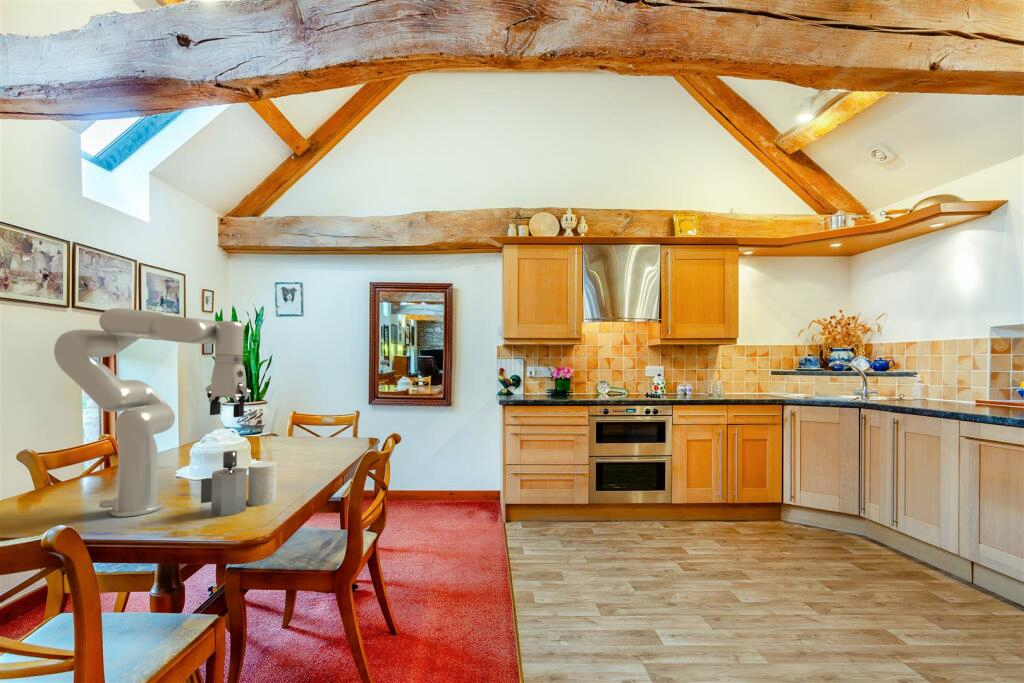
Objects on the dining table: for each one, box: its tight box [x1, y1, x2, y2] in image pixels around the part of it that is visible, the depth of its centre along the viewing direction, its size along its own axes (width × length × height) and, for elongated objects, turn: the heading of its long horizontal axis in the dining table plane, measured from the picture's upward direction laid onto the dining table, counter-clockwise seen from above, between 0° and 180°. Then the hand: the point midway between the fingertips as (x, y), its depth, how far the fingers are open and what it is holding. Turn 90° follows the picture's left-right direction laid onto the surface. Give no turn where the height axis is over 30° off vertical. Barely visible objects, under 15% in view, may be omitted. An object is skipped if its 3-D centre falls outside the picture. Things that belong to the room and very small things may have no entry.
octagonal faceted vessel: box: [200, 467, 248, 517], centre depth 147 cm, size 12×9×12 cm
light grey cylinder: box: [247, 461, 278, 506], centre depth 157 cm, size 8×8×12 cm
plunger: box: [222, 450, 238, 473], centre depth 148 cm, size 4×4×17 cm
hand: (226, 415), depth 150 cm, fingers open, 9 cm apart
